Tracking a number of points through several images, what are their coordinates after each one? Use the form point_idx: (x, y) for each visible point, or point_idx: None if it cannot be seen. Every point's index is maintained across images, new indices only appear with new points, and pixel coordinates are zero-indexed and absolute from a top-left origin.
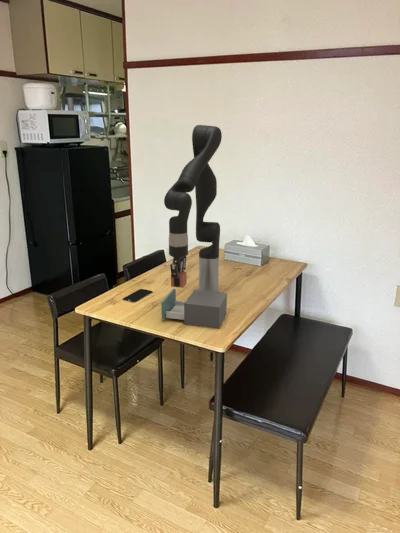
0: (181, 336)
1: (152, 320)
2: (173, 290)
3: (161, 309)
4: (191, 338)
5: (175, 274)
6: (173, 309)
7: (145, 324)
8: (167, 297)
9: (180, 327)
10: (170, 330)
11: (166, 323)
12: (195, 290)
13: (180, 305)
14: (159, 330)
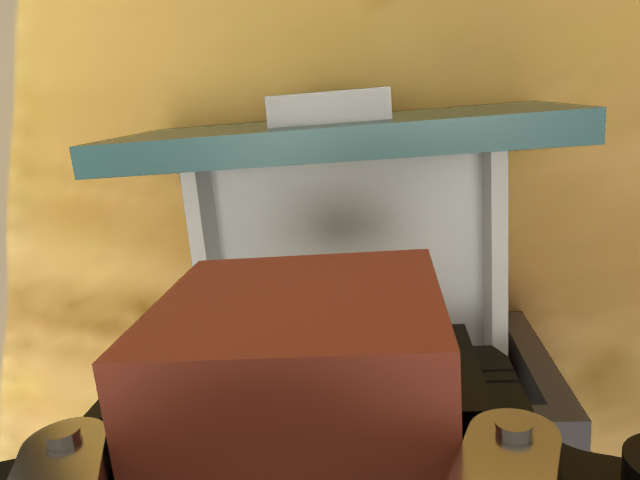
0: (18, 362)
1: (165, 29)
2: (516, 144)
3: (115, 138)
4: (24, 432)
5: (172, 465)
6: (369, 167)
7: (67, 4)
8: (238, 163)
9: (142, 311)
10: (64, 256)
11: (161, 178)
12: (568, 441)
13: (482, 203)
14: (25, 173)
